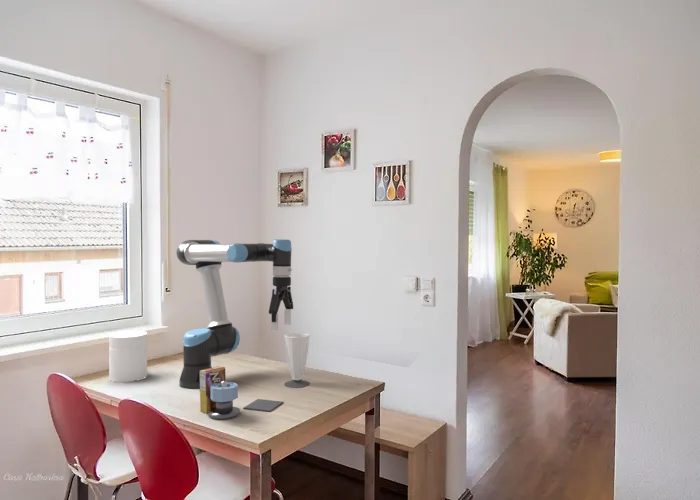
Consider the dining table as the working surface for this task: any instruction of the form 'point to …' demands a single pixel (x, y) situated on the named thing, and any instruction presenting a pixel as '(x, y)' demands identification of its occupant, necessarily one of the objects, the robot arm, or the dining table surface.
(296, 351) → the cup
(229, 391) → the ring
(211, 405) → the candy box
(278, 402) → the mat
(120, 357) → the canister
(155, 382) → the dining table surface
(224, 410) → the stand
